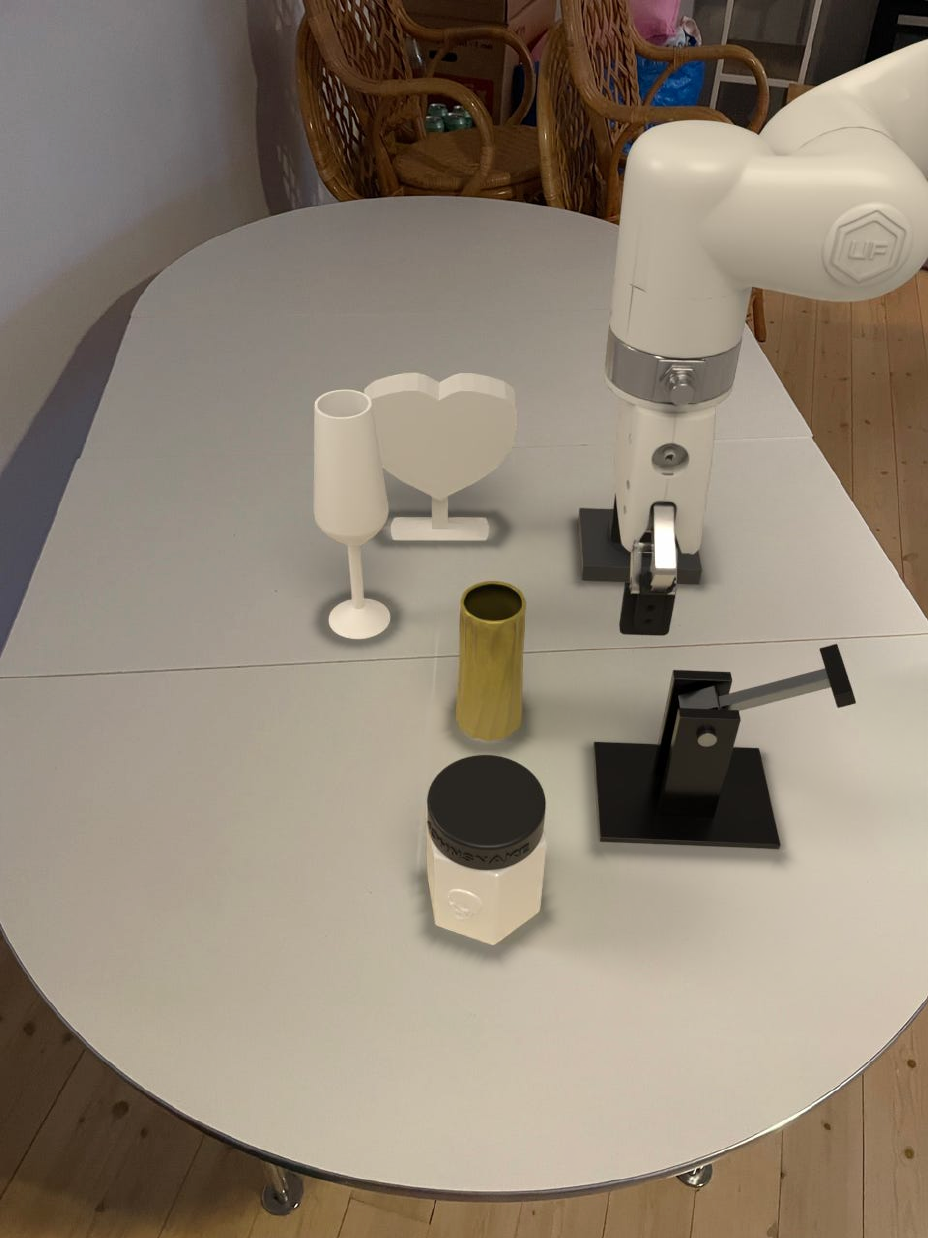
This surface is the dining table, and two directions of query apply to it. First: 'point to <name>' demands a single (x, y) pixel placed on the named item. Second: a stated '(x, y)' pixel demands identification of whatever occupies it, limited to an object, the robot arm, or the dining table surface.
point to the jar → (485, 846)
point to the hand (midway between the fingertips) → (637, 584)
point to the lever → (780, 688)
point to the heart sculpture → (442, 443)
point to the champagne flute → (350, 498)
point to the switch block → (619, 552)
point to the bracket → (686, 779)
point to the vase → (491, 660)
